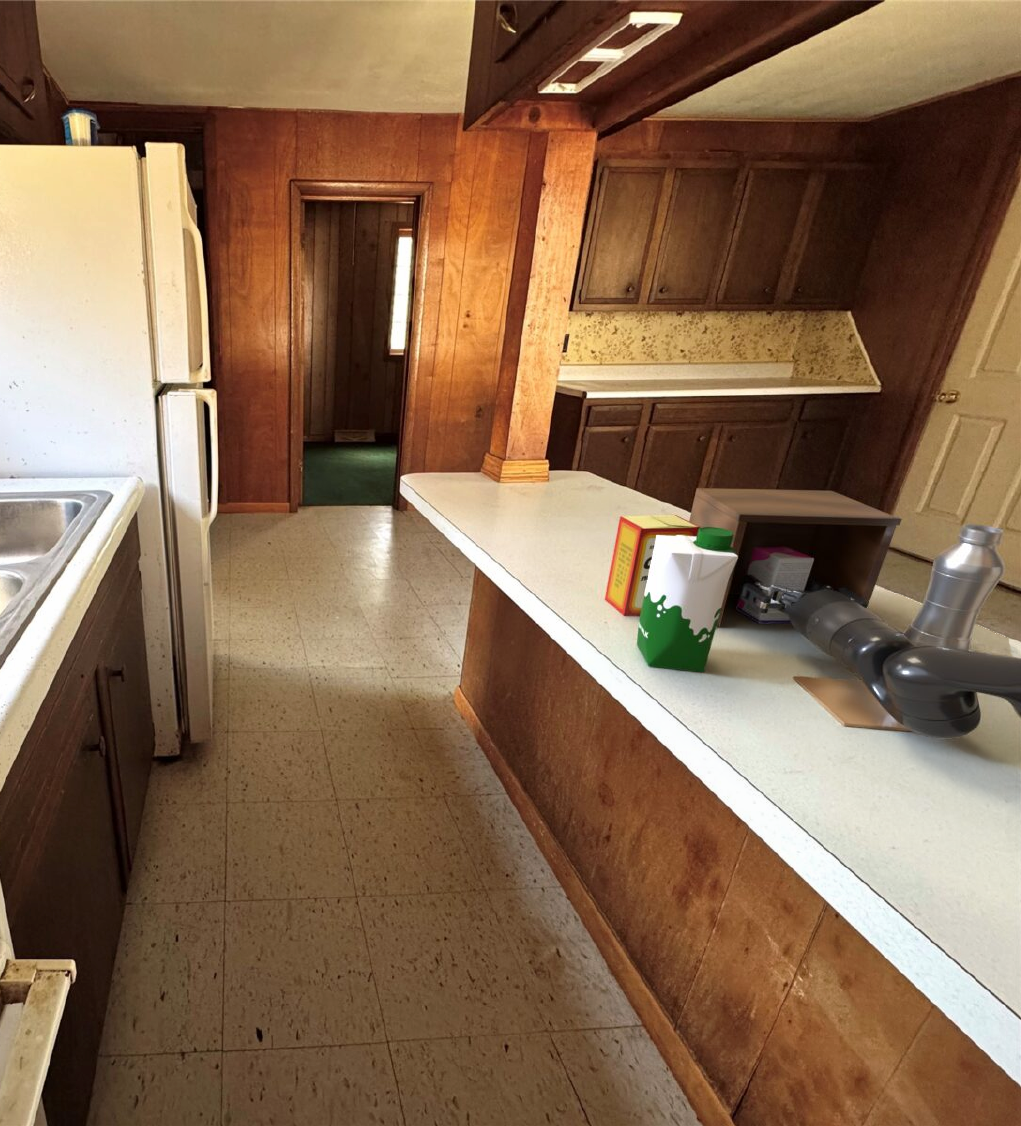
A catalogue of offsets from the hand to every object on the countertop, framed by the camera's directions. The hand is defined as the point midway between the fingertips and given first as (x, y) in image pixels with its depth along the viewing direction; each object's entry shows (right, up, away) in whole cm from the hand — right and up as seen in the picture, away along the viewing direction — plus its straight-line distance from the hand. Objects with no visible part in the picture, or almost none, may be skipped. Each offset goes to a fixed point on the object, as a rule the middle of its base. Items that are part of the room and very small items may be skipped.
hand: (775, 581), depth 101 cm
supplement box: (0, -6, +3) cm, 7 cm away
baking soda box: (-18, -5, +7) cm, 20 cm away
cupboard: (+1, -5, +5) cm, 7 cm away
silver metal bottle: (+13, -11, -11) cm, 20 cm away
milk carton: (-23, -11, -9) cm, 27 cm away
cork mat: (-5, -15, -21) cm, 26 cm away
